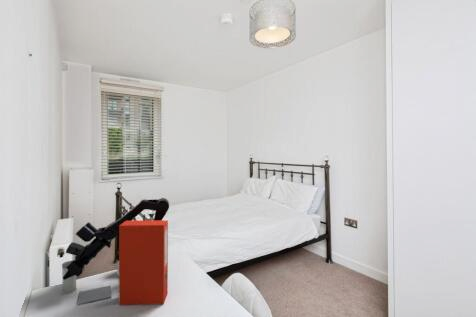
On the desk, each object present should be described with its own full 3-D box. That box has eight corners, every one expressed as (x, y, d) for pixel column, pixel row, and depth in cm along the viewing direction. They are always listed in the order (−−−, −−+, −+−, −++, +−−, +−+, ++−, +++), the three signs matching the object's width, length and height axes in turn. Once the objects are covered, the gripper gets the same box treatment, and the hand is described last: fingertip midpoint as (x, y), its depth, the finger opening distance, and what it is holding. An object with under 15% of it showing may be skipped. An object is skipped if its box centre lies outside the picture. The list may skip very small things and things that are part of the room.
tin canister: (77, 285, 116) (76, 259, 115) (76, 291, 111) (75, 264, 111) (63, 288, 113) (62, 262, 113) (61, 294, 109) (61, 266, 108)
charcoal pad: (110, 286, 116) (110, 285, 116) (111, 297, 107) (111, 296, 107) (79, 293, 110) (79, 291, 110) (77, 305, 101) (77, 304, 101)
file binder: (126, 294, 110) (126, 220, 108) (167, 293, 111) (167, 220, 110) (119, 305, 102) (118, 225, 100) (163, 304, 103) (163, 225, 102)
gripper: (85, 230, 121) (58, 255, 119) (72, 244, 104) (40, 274, 101) (103, 245, 124) (78, 270, 121) (94, 261, 106) (63, 291, 103)
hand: (65, 275), depth 112 cm, fingers closed on tin canister, 5 cm apart
